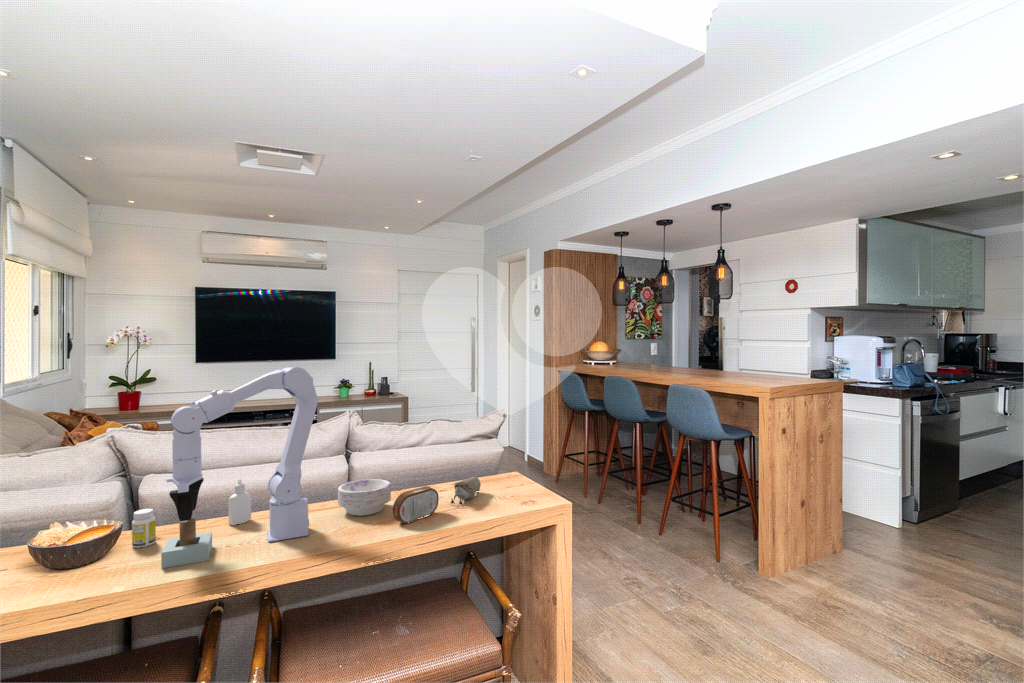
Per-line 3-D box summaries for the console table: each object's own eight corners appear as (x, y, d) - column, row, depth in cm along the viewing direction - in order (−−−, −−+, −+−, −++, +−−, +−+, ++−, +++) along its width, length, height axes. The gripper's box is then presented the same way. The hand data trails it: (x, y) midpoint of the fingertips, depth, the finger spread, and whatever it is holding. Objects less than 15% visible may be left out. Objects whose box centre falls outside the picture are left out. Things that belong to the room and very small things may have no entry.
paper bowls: (364, 500, 158) (364, 475, 158) (401, 507, 151) (401, 481, 151) (326, 515, 145) (326, 488, 145) (365, 523, 138) (364, 495, 138)
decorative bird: (485, 493, 165) (484, 471, 165) (463, 509, 150) (463, 484, 150) (470, 491, 167) (470, 469, 167) (447, 507, 152) (447, 482, 152)
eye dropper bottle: (228, 522, 140) (227, 479, 140) (250, 518, 143) (250, 476, 143) (229, 527, 136) (228, 483, 136) (252, 522, 139) (251, 480, 139)
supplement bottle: (152, 539, 128) (152, 506, 128) (158, 543, 125) (157, 510, 125) (129, 545, 124) (129, 511, 124) (135, 550, 121) (134, 515, 121)
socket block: (212, 546, 123) (211, 532, 123) (208, 560, 115) (208, 545, 115) (168, 553, 119) (168, 538, 119) (161, 568, 111) (161, 552, 111)
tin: (433, 510, 148) (433, 482, 148) (440, 513, 146) (440, 484, 146) (391, 525, 136) (391, 494, 136) (398, 528, 134) (398, 497, 134)
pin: (197, 550, 119) (196, 517, 119) (194, 555, 116) (194, 521, 116) (181, 553, 118) (181, 519, 118) (178, 558, 115) (177, 524, 115)
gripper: (171, 453, 122) (172, 508, 122) (160, 466, 109) (161, 528, 109) (205, 450, 125) (206, 504, 125) (198, 462, 112) (199, 522, 112)
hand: (187, 515), depth 117 cm, fingers open, 7 cm apart
